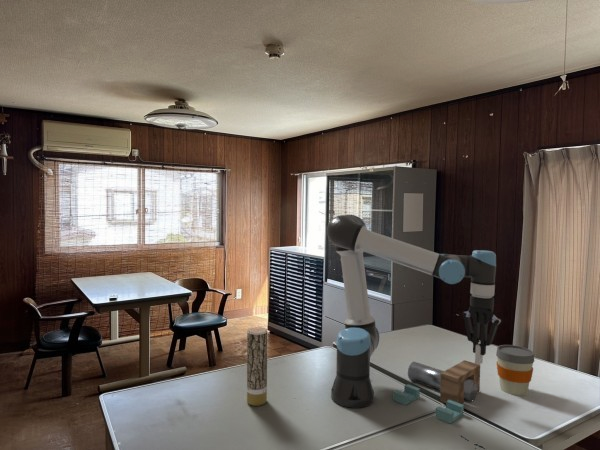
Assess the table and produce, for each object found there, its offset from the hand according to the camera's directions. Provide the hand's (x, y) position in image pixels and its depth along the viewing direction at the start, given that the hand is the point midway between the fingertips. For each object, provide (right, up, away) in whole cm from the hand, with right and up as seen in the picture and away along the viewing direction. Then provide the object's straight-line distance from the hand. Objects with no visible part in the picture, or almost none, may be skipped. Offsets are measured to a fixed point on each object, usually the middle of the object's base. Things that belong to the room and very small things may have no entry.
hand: (478, 363), depth 140 cm
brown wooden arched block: (-4, -14, +5) cm, 15 cm away
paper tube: (-77, -13, -1) cm, 78 cm away
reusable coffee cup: (+18, -14, +11) cm, 25 cm away
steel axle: (-9, -14, +11) cm, 20 cm away
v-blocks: (-19, -14, -3) cm, 23 cm away
